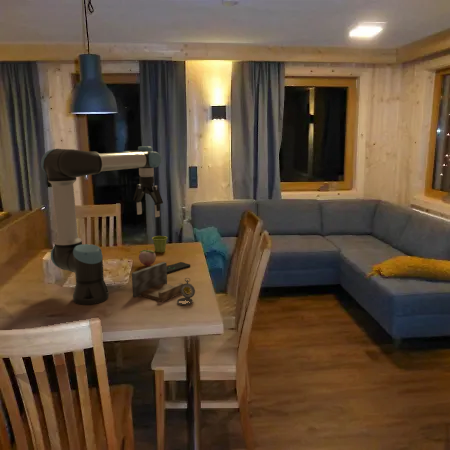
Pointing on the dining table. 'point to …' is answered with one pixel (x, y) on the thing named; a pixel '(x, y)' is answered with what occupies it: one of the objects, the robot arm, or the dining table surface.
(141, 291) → the display stand
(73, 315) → the dining table surface
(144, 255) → the decorative fruit
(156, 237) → the plant pot
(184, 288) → the pocket watch
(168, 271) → the smart home device
